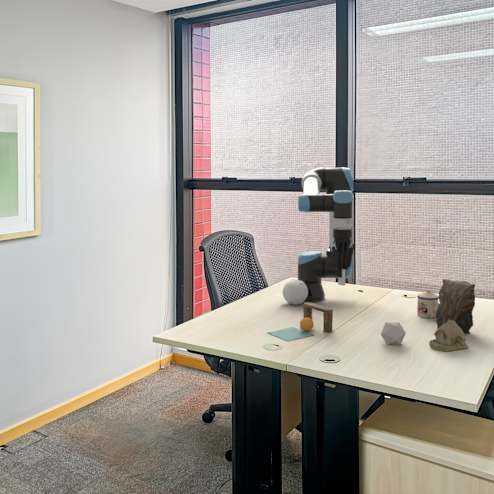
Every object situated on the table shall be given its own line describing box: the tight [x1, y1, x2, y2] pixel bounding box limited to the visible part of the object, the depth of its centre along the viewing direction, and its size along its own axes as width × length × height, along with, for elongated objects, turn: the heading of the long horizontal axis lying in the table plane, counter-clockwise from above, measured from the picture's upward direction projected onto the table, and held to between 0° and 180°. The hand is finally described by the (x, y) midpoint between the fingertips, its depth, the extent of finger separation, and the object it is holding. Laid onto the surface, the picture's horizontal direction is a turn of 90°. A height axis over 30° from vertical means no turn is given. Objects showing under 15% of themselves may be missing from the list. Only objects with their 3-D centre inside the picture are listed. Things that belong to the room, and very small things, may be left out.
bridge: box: [302, 302, 334, 334], centre depth 227 cm, size 3×14×9 cm, turn 33°
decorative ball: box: [282, 279, 308, 306], centre depth 266 cm, size 12×12×12 cm
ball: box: [299, 317, 315, 332], centre depth 224 cm, size 6×6×6 cm
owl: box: [435, 278, 476, 335], centre depth 221 cm, size 13×13×20 cm
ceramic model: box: [428, 320, 469, 352], centre depth 203 cm, size 14×11×10 cm
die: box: [380, 321, 407, 346], centre depth 207 cm, size 8×9×10 cm
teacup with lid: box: [416, 288, 440, 319], centre depth 242 cm, size 12×9×12 cm
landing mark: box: [266, 326, 314, 342], centre depth 220 cm, size 13×13×1 cm
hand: (341, 284), depth 233 cm, fingers closed
